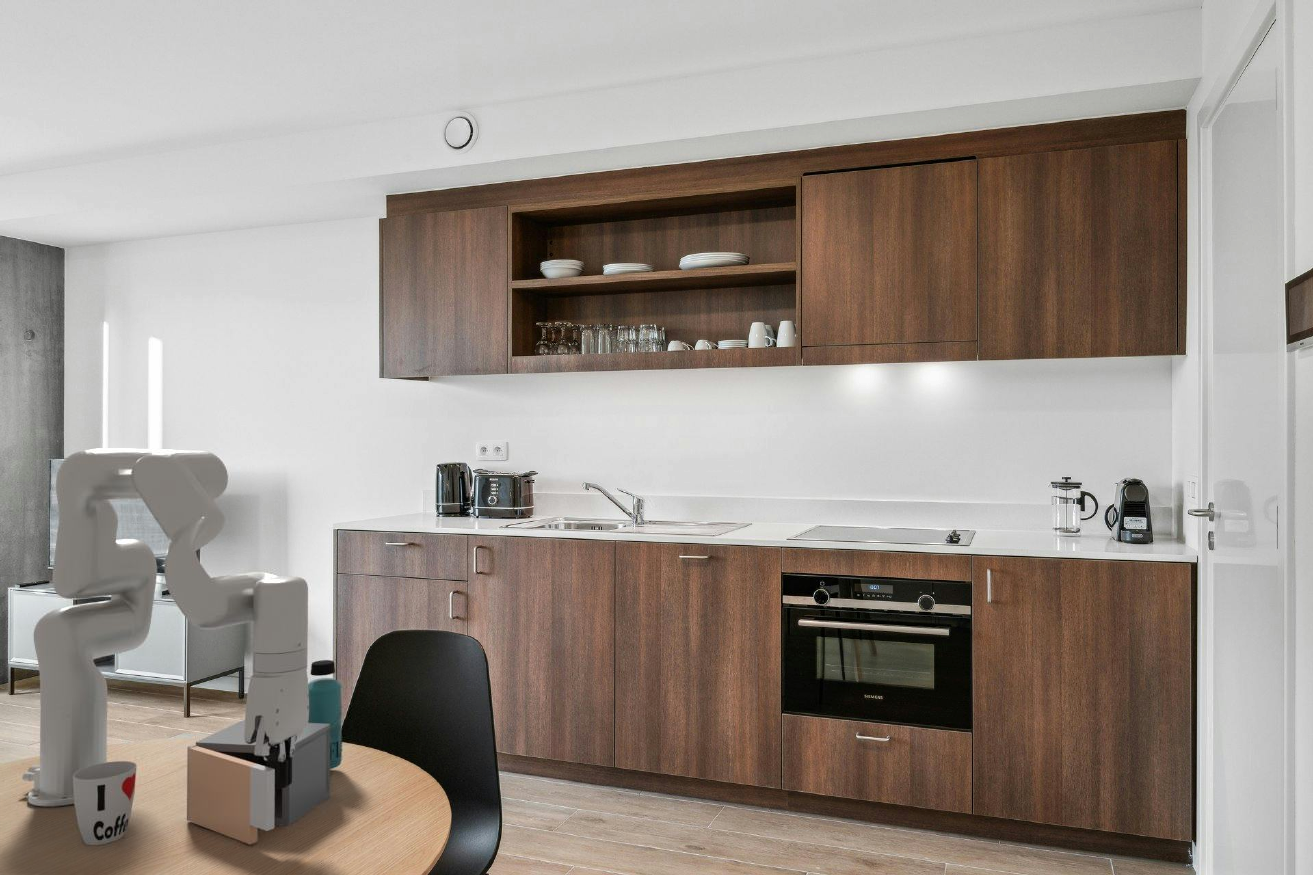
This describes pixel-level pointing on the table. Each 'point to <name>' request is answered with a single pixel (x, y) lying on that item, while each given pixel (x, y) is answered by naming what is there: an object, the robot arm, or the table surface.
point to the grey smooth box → (306, 767)
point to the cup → (104, 800)
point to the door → (229, 794)
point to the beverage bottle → (327, 706)
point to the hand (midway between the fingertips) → (279, 785)
